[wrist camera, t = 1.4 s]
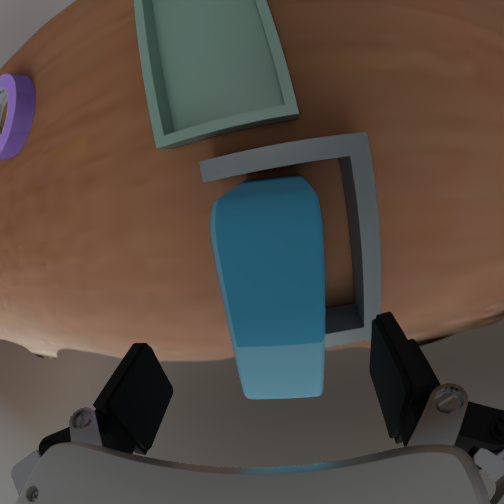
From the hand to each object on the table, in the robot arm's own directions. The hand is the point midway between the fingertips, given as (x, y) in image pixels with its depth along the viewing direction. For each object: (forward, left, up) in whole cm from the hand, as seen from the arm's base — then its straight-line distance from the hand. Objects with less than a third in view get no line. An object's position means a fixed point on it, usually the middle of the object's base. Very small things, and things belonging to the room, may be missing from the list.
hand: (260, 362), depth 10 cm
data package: (-1, 0, -14) cm, 14 cm away
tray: (+1, -19, -14) cm, 24 cm away
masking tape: (+29, -24, -14) cm, 41 cm away
